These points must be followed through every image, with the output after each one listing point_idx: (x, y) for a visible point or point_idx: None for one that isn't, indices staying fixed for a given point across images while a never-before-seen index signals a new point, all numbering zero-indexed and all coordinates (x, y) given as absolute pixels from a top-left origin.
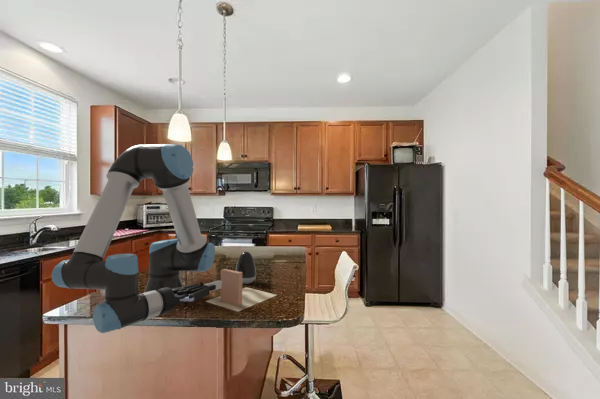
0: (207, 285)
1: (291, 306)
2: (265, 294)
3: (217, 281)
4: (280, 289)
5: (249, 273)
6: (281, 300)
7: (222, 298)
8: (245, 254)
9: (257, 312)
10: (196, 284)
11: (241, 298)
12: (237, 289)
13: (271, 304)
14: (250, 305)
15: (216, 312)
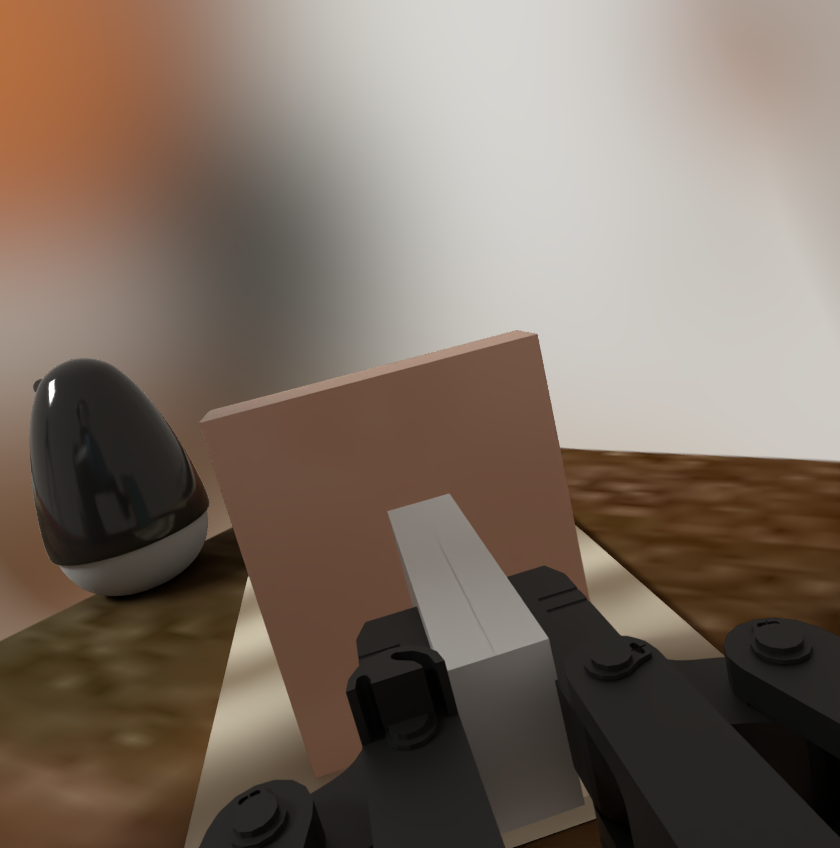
0: (543, 640)
1: (760, 478)
2: None
3: (439, 520)
4: None
5: (185, 490)
6: (617, 498)
7: (343, 740)
8: (90, 372)
9: (814, 613)
10: (269, 823)
11: None
12: (560, 524)
13: (662, 534)
14: (656, 611)
15: None
